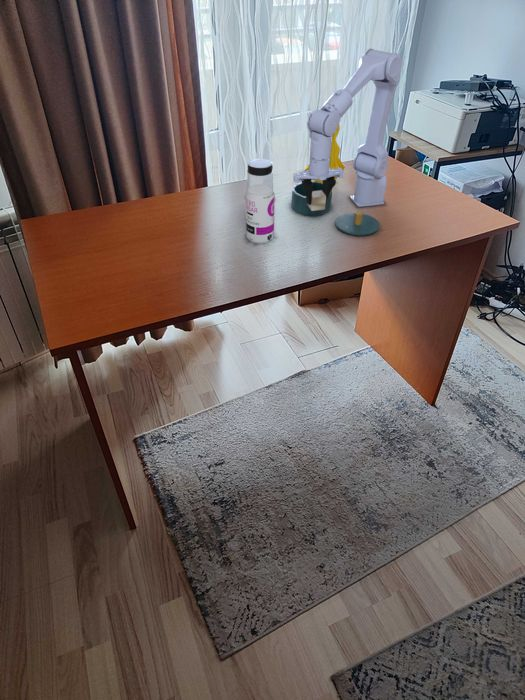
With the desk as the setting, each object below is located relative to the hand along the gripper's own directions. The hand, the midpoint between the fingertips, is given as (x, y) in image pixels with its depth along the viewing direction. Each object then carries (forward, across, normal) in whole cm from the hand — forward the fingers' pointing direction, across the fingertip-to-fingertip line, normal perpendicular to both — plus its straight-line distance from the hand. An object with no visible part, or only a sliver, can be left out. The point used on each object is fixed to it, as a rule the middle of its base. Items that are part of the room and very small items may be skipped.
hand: (316, 202), depth 142 cm
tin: (+8, +3, +13) cm, 15 cm away
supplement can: (+8, -18, -3) cm, 20 cm away
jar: (+8, -12, +23) cm, 27 cm away
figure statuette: (+8, +14, +31) cm, 35 cm away
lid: (+7, +13, -3) cm, 15 cm away
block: (+1, 0, 0) cm, 1 cm away
